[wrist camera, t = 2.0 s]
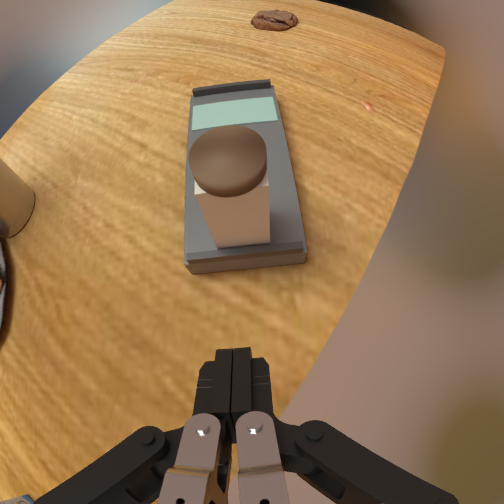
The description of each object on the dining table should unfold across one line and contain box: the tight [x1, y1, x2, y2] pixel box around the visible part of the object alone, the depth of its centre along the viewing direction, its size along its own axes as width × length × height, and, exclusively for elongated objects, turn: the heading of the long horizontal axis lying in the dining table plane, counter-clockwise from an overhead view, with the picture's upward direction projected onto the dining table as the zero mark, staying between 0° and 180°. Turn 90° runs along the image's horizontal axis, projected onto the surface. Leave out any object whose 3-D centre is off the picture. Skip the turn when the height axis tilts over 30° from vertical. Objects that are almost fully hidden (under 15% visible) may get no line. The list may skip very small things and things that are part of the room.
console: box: [184, 79, 307, 274], centre depth 35 cm, size 26×12×4 cm, turn 5°
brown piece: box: [188, 125, 270, 250], centre depth 25 cm, size 5×5×12 cm
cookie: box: [251, 10, 298, 31], centre depth 52 cm, size 10×11×3 cm
